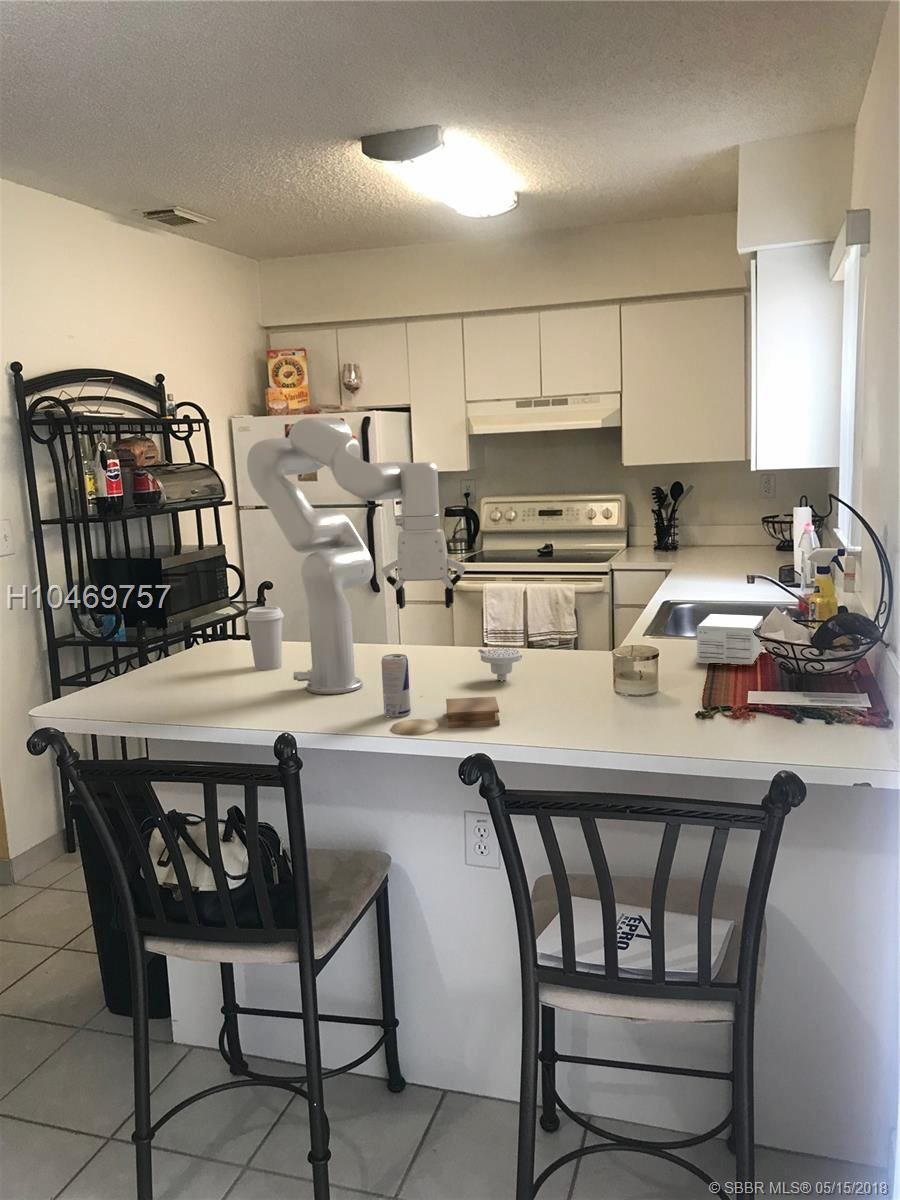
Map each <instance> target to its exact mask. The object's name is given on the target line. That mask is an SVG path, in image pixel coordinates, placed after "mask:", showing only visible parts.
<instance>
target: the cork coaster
mask: <svg viewBox="0 0 900 1200" xmlns="http://www.w3.org/2000/svg"><path fill="white" fill-rule="evenodd" d="M439 728H440V727H439V723H438V722H437V721H435V720H432V719H425V718H416V719H415V718H413V719H406V720H401V721H398V722H396V723H394V724H392V725H391V730H392V732H393V733H395V734H397V735H402V736H420V735H421V736H422V735H427V734H431V733H433V732H435V731H437V730H438V729H439Z"/></svg>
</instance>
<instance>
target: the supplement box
mask: <svg viewBox="0 0 900 1200" xmlns="http://www.w3.org/2000/svg"><path fill="white" fill-rule="evenodd" d="M762 624H763V625H764V616H763V615H749V614H748V615H747V614H746V615H742V614H719V613H718V614H717V613H714V614H713V613H710V614H709V615H708V616H706V618H704V619H703V620H702V622H700V623H699V624H698V625H697V626H696V664H706V665H707V664H709V663H731V664H753V663H754V661H755V660H756V658H757V657H758V655H759V654H760V653H761V652H762V653H763V642H762V643H761V642H760V640H759V639H758V638H757V637H756V636H755V635H754V633H753V630H755V629H757V628H759V627H760V626H761V625H762ZM754 632H755V631H754ZM762 653H761V654H762ZM761 654H760V655H761ZM758 658H759V657H758ZM756 661H757V660H756ZM754 664H755V663H754ZM709 665H710V664H709Z"/></svg>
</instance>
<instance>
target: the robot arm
mask: <svg viewBox="0 0 900 1200" xmlns="http://www.w3.org/2000/svg"><path fill="white" fill-rule="evenodd" d="M246 457H247V459H246V467H247V468H246V469H247V474H248V478H249V480H250V483H251V485H252V487H253V489H254V490H255V492H256V493H257V495H258V496H259V498H260V499H261V500H262V501H263V502H264V504H265V505H266V506H267V508H268V509H269V511H270V512H271V514H272V516H273V518H274V521H276V523H277V525H278V527H279V528H280V531H281V532H282V534H283V535H284V538H285V539H286V541H287V542H288V544H289V545H290V547H291V548H292V549H293V550H294V551H296V552H298V553H299V554H300V553H301V554H308V553H310V554H309V555H307V557H305V558H304V560H303V562H302V564H301V567H300V568H301V569H300V575H301V581H302V584H303V588H304V592H305V596H306V601H307V602H306V603H307V610H308V611H307V612H308V624H309V638H310V651H311V653H310V654H311V664H312V665H311V668H310V669H307V671H293V673H292V674H293V677H292V678H293V681H297V682H306V681H307V683H306V690H307V691H308V692H309V693H312V694H318V695H335V694H336V695H337V694H344V693H345V694H346V693H351V692H354V691H357V690H359V689H360V688H361V687H362V686H363V680H362V679H361V678H359V677H356V674H355V673H356V672H355V655H354V638H353V636H354V635H353V625H352V623H353V622H352V611H351V606H350V603H349V601H348V600H347V598H346V597H345V595H344V593H343V590H347V589H353V588H358V587H362V586H363V585H366V584H368V583H369V582H370V581H371V579H373V578H372V577H373V576H374V572H375V571H374V570H375V569H374V568H375V567H374V561H373V557H372V555H371V554H370V552H369V549H368V548H367V546H366V545H365V543H364V541H363V540H362V538H361V537H360V535H359V533H358V531H357V530H356V528H355V527H354V524H353V523H352V521H351V520H350V519H349V517H348V516H347V515H346V514H344V512H342V511H340V510H338V509H335V508H322V509H316V508H314V507H313V506H312V505H311V504H310V502H309V501H308V500H307V498H306V496H305V494H304V493H303V491H302V490H301V489H300V488H299V487H298V486H297V485H296V484H294V482H292V481H290V480H289V479H288V478H287V477H286V476H294V475H295V476H296V475H297V476H298V475H309V474H312V473H314V472H317V471H319V470H321V469H322V468H326V469H327V470H329V471H331V473H332V476H333V478H334V480H335V482H336V484H337V485H338V486H339V487H340V488H341V489H343V491H344V490H345V491H346V492H348V493H350V494H351V495H353V496H355V497H357V498H360V499H362V500H365V501H370V502H373V501H383V500H384V501H386V500H396V499H397V500H398V499H401V512H402V513H401V514H402V516H401V518H396V519H395V526H396V527H397V526H399V527H401V528H402V530H401V531H399V532H398V537H397V553H396V554H397V557H396V559H395V560H394V561H392V562H391V563H389V564H387V565H385V566H383V567H382V568H381V572H382V574H383V576H384V577H385V579H386V582H388V583H389V584H390V585H391V587H393V589H394V590H395V602H396V605H398V608H399V609H400V610H402V609H404V608H405V607H406V593H405V592H406V591H405V590H406V589H405V587H404V584H405V582H417V581H418V582H419V581H422V582H423V581H424V582H425V581H427V582H428V581H441V582H442V583H443V584H444V585H445V589H444V598H445V599H444V600H445V602H444V603H445V608H446V609H450V608H451V607H452V604H454V602H455V601H454V600H455V598H454V594H455V593H454V587H455V586H456V584H458V582H459V581H460V580H461V579H462V577H463V575H464V572H465V571H466V569H467V567H466V565H465V564H464V563H463V564H462V563H461V562H458V561H457V560H455V559H453V558H451V557H449V553H448V548H447V547H448V546H447V540H446V536H445V532H444V529H441V519H440V497H439V495H440V494H439V493H440V492H439V474H438V473H439V472H438V468H437V465H436V464H435V463H434V462H429V461H427V462H423V461H422V462H421V461H419V462H405V461H394V462H393V461H391V462H389V461H388V462H387V461H386V462H373V463H371V462H367V461H364V460H362V459H361V458H360V457H361V446H360V443H359V442H358V440H357V439H356V438H355V437H353V433H352V430H351V427H350V426H349V425H348V424H347V423H346V422H345V421H344V420H342V419H341V418H338V417H333V416H332V417H304V418H301V419H299V420H297V421H296V422H295V423H294V424H293V425H292V426H291V428H290V430H289V434H288V437H284V438H283V437H274V438H267V439H261V440H260V441H257V442H255V443H254V444H253V445H252V446H251V447H250V449H249V451H248V453H247V456H246ZM450 567H452V568H453V569H455V570H456V571H457V572H456V574H455V576H454V577H453V578H451V577H450V575H449V572H450V570H449V569H450ZM395 568H397V577H398V579H397V578H395V576H393V575H392V572H391V571H392V570H393V569H395Z"/></svg>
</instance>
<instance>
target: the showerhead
mask: <svg viewBox="0 0 900 1200" xmlns="http://www.w3.org/2000/svg"><path fill="white" fill-rule="evenodd" d="M477 652H478V653H480V662H483V663H486V664H490V672H491V673H493V675H494V674H495V675H496V678H497V679H496V680H506V681H507V680H508V678H507V675H509V674H511V673H512V672H513V663H517V662H520V661H521V660H522V658H523V652H522V651H520V650H518V649H514V648H510V647H508V648H505V647H503V648H499V647H498V648H492V649H488V650H486V649H485V650H484V649H482V648H479V649H478V651H477Z"/></svg>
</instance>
